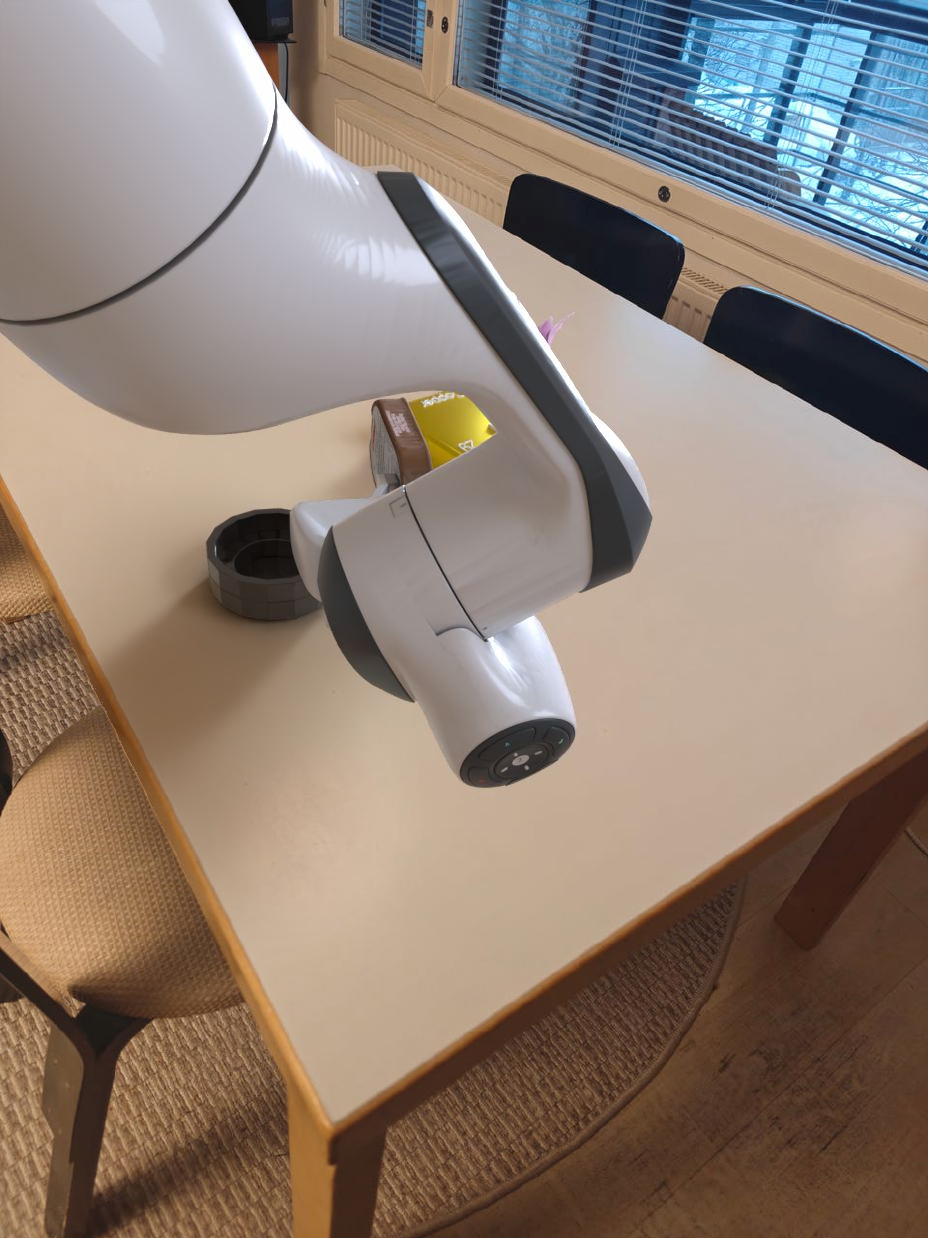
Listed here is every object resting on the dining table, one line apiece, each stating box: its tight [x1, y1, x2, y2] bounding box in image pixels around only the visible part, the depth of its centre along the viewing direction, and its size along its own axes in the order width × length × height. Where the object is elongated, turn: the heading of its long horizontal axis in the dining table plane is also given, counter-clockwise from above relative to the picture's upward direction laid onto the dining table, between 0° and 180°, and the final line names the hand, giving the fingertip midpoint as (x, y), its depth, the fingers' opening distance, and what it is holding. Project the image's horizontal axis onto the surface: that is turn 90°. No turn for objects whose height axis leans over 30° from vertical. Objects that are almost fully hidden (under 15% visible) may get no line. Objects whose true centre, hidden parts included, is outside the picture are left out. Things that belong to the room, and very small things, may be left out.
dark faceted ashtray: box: [205, 507, 323, 621], centre depth 79 cm, size 12×12×4 cm
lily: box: [537, 311, 576, 348], centre depth 118 cm, size 12×12×10 cm
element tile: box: [408, 391, 497, 470], centre depth 101 cm, size 15×15×5 cm
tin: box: [368, 396, 433, 488], centre depth 72 cm, size 15×3×8 cm, turn 15°
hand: (408, 479), depth 69 cm, fingers closed on tin, 2 cm apart
